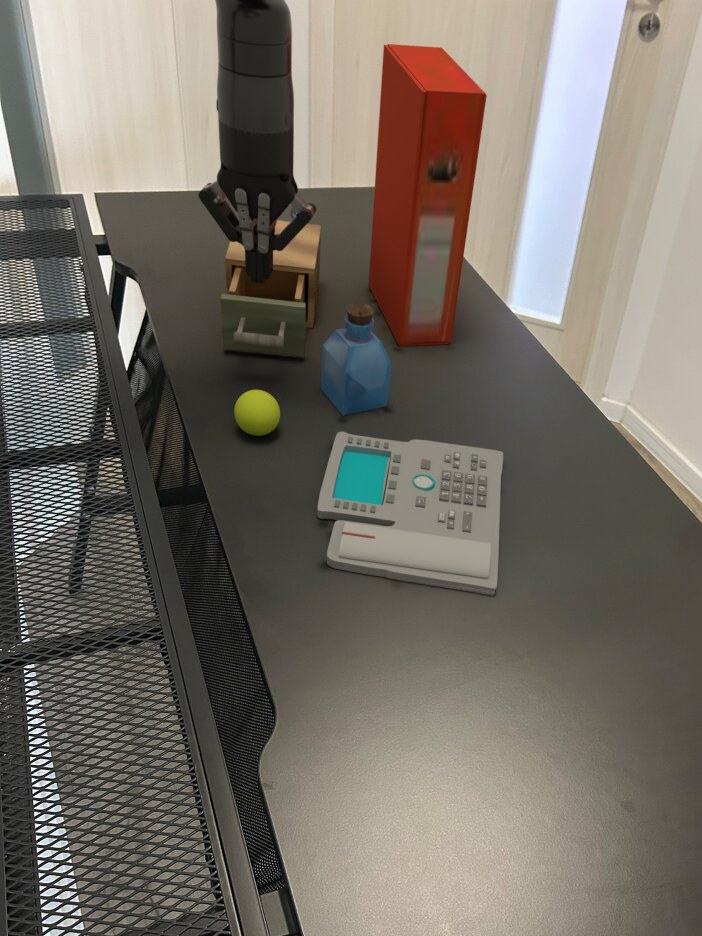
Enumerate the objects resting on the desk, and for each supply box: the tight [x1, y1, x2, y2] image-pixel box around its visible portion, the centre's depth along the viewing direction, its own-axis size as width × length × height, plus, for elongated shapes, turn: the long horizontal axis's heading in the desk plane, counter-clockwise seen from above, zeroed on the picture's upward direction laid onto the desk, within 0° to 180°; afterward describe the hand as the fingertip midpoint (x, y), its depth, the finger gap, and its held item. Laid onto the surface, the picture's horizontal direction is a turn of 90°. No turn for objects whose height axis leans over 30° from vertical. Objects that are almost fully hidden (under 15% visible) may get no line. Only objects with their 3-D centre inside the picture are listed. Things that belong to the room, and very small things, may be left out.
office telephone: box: [316, 431, 504, 597], centre depth 94 cm, size 23×3×20 cm
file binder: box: [368, 43, 488, 347], centre depth 113 cm, size 8×17×32 cm, turn 18°
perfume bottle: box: [320, 302, 392, 417], centre depth 104 cm, size 6×6×12 cm
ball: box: [233, 389, 281, 437], centre depth 99 cm, size 5×5×5 cm
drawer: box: [219, 265, 306, 357], centre depth 111 cm, size 18×10×7 cm, turn 3°
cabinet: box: [224, 219, 322, 329], centre depth 119 cm, size 14×12×9 cm
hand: (259, 279), depth 99 cm, fingers closed
